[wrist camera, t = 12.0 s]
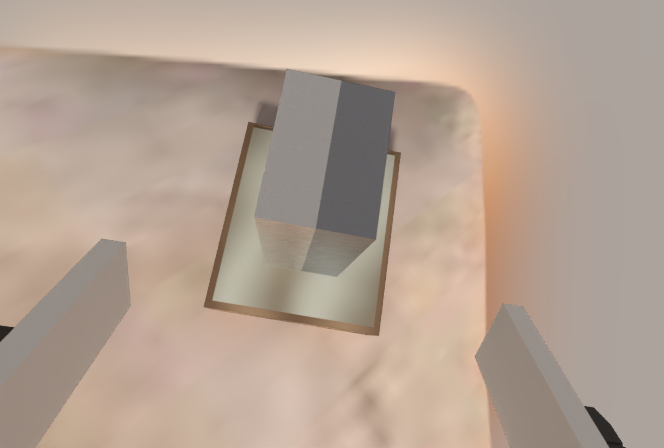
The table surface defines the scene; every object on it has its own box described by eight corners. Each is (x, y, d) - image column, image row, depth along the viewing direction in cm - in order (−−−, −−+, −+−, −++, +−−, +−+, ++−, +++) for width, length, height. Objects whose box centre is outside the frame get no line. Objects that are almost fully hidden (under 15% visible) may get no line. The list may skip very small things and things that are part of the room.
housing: (265, 264, 27) (253, 217, 16) (284, 171, 29) (286, 68, 18) (336, 277, 28) (375, 239, 16) (350, 184, 30) (395, 92, 18)
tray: (211, 309, 29) (202, 306, 26) (251, 140, 33) (248, 119, 30) (369, 335, 30) (379, 335, 27) (390, 167, 34) (401, 151, 31)
